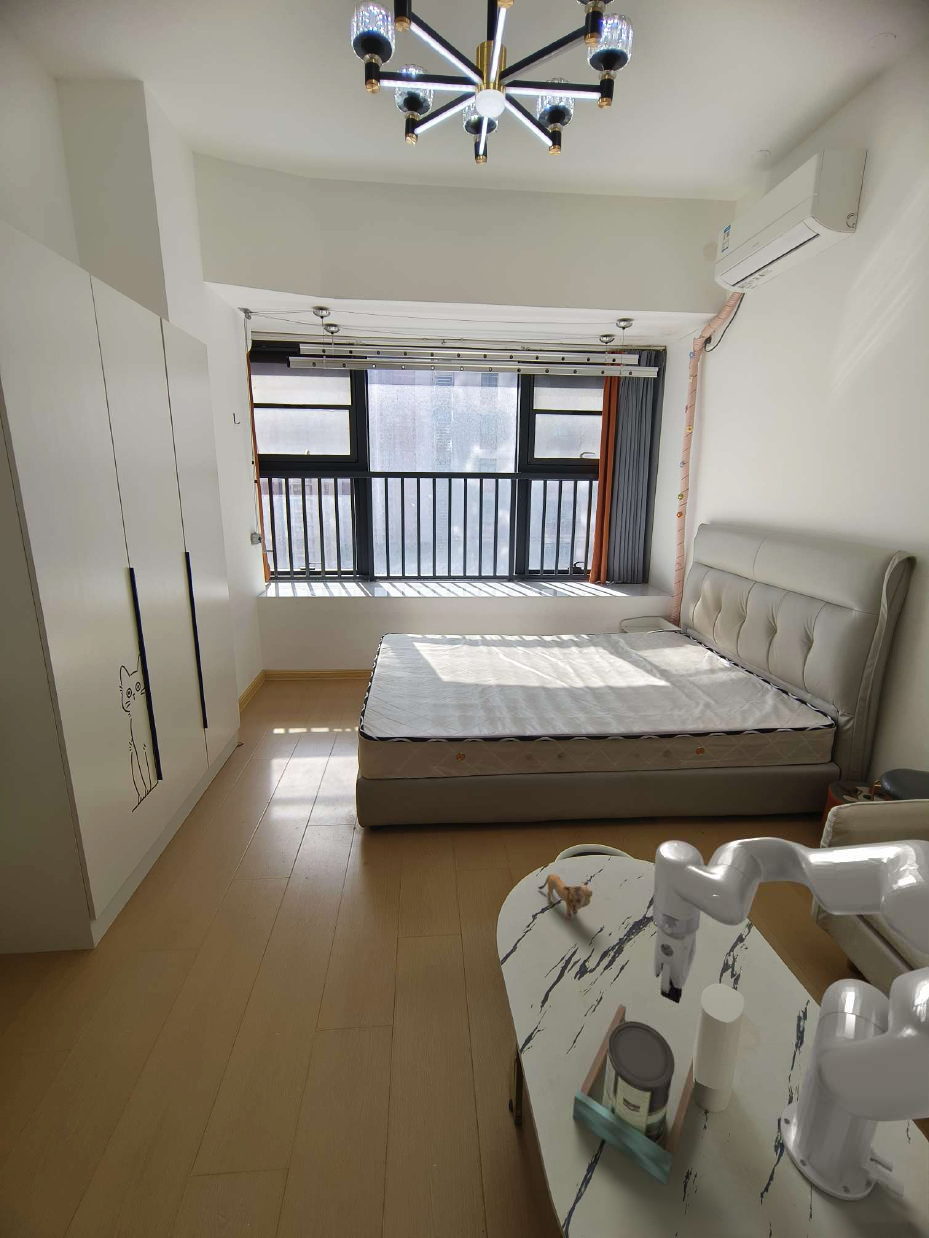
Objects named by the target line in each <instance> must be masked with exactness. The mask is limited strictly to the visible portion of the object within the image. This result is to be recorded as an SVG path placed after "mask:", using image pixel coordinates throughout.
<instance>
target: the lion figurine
mask: <svg viewBox="0 0 929 1238" xmlns="http://www.w3.org/2000/svg"><path fill="white" fill-rule="evenodd" d="M545 887H547V903H548V904H549V905H552V904H553V903H554V902H553V899H552V898H551V895H552V893H553V890H554V891H555V893H556V894H557V896H558V898H559V899H561V900H562V901H563V902H565V905H566V918H567V919H568V920H572V919H573V915H572V912H573V913H577V912H578V910H580V909H582V908H585V907H588V906H589V905H590V903H591V898H592V897H593V891H592V890H590V889H589V888H588V886H587V885H584V884H580V885H577V886H575V885H574V886H569V885H567V884H566V883H565V882H564V881H562V879H561V878H560V876H559V875H558V874H556V873H549V874H548V875H547V877H546V879H545V882H544V884H543V885H541V886H539V887H537V888H538V889H539V890H542V889H544V888H545Z"/></svg>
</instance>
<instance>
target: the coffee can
mask: <svg viewBox="0 0 929 1238" xmlns="http://www.w3.org/2000/svg"><path fill="white" fill-rule="evenodd" d="M674 1057H675V1056H674V1054H673V1050H672V1048H671V1047H670V1045H669V1042H667V1040H666V1039H665V1037H664V1036H663V1035H661V1033H660V1032H659V1031H657V1030H656V1029H655V1028H654V1027H652V1026H650V1025H648V1024H646V1023H643V1022H640V1021H635V1020H631V1021H629V1020H628V1021H623V1023H620V1024H619V1025H617V1026H616V1027H615V1028H614V1029H613V1030H612V1031H611V1033H610V1035H609V1038H608V1055H607V1060H606V1069H605V1078H604V1085H603V1086H604V1087H603V1097H602V1101H601V1102H602V1105H601V1106H603V1107H604V1108H606V1109H607V1110H608V1111H610V1112H611V1113H613V1114H614V1115H616V1116H617V1117H618V1118H620V1119H621V1120H623V1121H624V1122H626V1123H627V1124H628V1125H630V1126H631V1127H633V1128H634V1129H636V1130H637V1131H638V1132H640V1133H641V1134H643V1135H644V1136H646V1137H647V1138H648V1139H650V1140H651V1141H653V1142H654V1143H656V1144H657V1145H659V1143H660V1142H661V1140H662V1139H663V1137H664V1134H665V1131H666V1130H665V1129H666V1121H667V1114H668V1113H667V1112H668V1108H669V1107H668V1105H669V1101H670V1099H669V1098H670V1092H671V1086H672V1080H673V1079H672V1078H673V1075H674V1072H675V1067H676V1066H675V1058H674Z"/></svg>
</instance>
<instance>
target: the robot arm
mask: <svg viewBox="0 0 929 1238" xmlns="http://www.w3.org/2000/svg"><path fill="white" fill-rule="evenodd" d="M654 860H655V861H654V878H653V879H654V882H653V898H652V899H653V901H652V902H653V904H652V919H653V921H654V923H655V924H656V925H657V929H656V935H655V947H654V956H653V958H654V959H653V974H654V977H655V978H656V979H657V978H659V977H660V976H661V980H660V981H661V982H660V995H661V996H662V997H664V998H666V999H667V1000H670V1001H672V1002H674V1003H676V1004H679V1003H680V1001H681V998H682V992H683V987H684V986H685V985H686V981H687V979H688V976H689V974H690V971H691V968H692V965H693V962H694V958H695V955H696V949H697V947H696V943H697V932H698V931H699V928H700V919H701V912H702V913H704V914H705V915H707V916H708V917H710V918H711V919H713V920H714V921H716V922H718V923H721V924H723V925H727V926H731V927H733V926H738V925H741V924H742V923H744V922H745V921H746V919H747V917H748V916H749V913H750V910H751V907H752V904H753V900H754V899H755V897H756V893H757V890H758V887H759V884H760V883H767V882H781V881H782V882H787V881H788V882H795V883H799V884H802V885H804V886H806V887H808V888H809V890H810V892H811V894H812V895H813V898H814V899H815V901H817V904H818V905H820V907H821V908H822V909H823V910H825V912H828V914H832V915H835V916H849V915H877V914H878V915H881V916H882V918H883V921H884V923H885V924H886V926H887V927H888V928H889V929H890V931H891V932H892V933H893V934H894V935H895V936H896V937H897V938H899V939H901V940H902V941H903V942H904V943H906V945H908V946H910V947H911V948H914V949H915V950H916V951H918V952H920V953H921V954H923V955H924V956H926V957H928V958H929V841H927V840H922V839H905V840H895V841H894V840H893V841H883V842H872V843H864V844H856V845H855V844H854V845H845V846H832V847H823V848H821V847H820V848H810V847H808V846H805V845H803V844H801V843H797V842H794V841H790V840H786V839H784V838H780V837H771V836H770V837H769V836H767V837H766V836H764V837H754V838H746V839H745V838H744V839H739V840H733V841H730V842H726V843H724V844H722V845H721V846H719V847H718V848H717V849H716V850H715V852H713V854H712V857H711V858H710V859H709V862H708V864H707V865H705V864H704V858H703V856H702V854H701V852H700V851H699V850H698V849H697V848H696V847H695V846H693V845H692V844H690V843H688V842H686V841H682V840H673V839H672V840H667V841H664V842H662V843H661V844H660V845H659V846H658V847H657V848H656V852H655V858H654ZM889 991H890V992H889V998H888V997H887V996H886V994H884V993H883V992H882V991H881V990H880V989H878V988H877V987H875V986H873V985H872V984H870V983H868V982H866V981H863V980H860V979H855V978H844V979H839V980H837V981H835V982H833V983H832V984H830V985H829V986H828V988H827V989H826V990H825V991H824V994H823V996H822V1000H821V1004H820V1008H819V1014H818V1018H817V1024H816V1028H815V1033H814V1038H813V1040H812V1046H811V1049H810V1054H809V1057H808V1061H807V1065H806V1068H805V1072H804V1077H803V1082H802V1085H801V1088H800V1091H799V1097H798V1100H797V1101H794V1102H791V1103H790V1104H788V1105H787V1106H786V1107H785V1108H784V1110H783V1112H782V1114H781V1118H780V1123H779V1125H780V1135H781V1140H782V1144H783V1145H784V1148H785V1150H786V1151H787V1155H789V1158H790V1159H791V1161H792V1162H793V1163H794V1165H795V1166H796V1168H797V1169H798V1170H799V1171H800V1173H801V1174H802V1175H804V1177H805V1178H806V1179H808V1180H809V1181H810V1182H811V1183H812V1184H813V1185H815V1186H816V1187H817V1188H818V1189H820V1190H821V1191H823V1192H825V1193H826V1194H828V1195H831V1196H832V1197H835V1198H836V1199H840V1200H845V1201H850V1202H851V1201H859V1200H862V1199H865V1198H866V1197H867V1196H868V1195H869V1194H870V1193H871V1191H872V1189H873V1187H874V1185H876V1183H877V1184H879V1185H881V1186H882V1187H884V1188H886V1190H888V1191H889V1192H891V1193H893V1194H895V1195H896V1196H898V1197H899V1198H900V1199H902V1198H903V1197H904V1194H905V1193H904V1191H905V1184H904V1182H903V1181H902V1180H900V1179H899V1178H897V1177H895V1176H894V1175H892V1174H890V1173H888V1172H891V1173H892V1172H893V1167H894V1164H893V1163H894V1162H893V1161H892V1160H890V1159H889V1158H887V1157H886V1156H883V1155H881V1154H879V1153H878V1152H876V1151H875V1149H874V1148H873V1147H872V1146H871V1145H872V1143H873V1140H874V1137H875V1134H876V1130H877V1126H878V1124H879V1122H883V1123H885V1122H886V1123H887V1122H898V1121H910V1120H919V1119H928V1118H929V966H925V967H922V968H919V969H915V970H911V971H908V972H905V973H902V974H900V975H899V976H897V977H896V978H895V979H894V980H893V982H892V984H891V986H890V990H889ZM878 1165H880V1166H881V1168H883V1169H885V1170H886V1171H888V1172H886V1171H883V1169H880V1168H879V1166H878Z"/></svg>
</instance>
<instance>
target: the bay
mask: <svg viewBox="0 0 929 1238" xmlns="http://www.w3.org/2000/svg"><path fill="white" fill-rule="evenodd" d="M626 1010H627V1006H624V1005H623V1004H622V1003H620V1004H619V1005H618V1006H617V1010H616V1012H615V1014H614V1016H613V1018H612V1020H611V1022H610V1025H609V1027H608V1029H607V1032H606V1033H605V1035H604V1038H603V1040H602V1042H601V1044H600V1046H599V1049H598V1051H597V1053H596V1055H595V1057H594V1059H593V1061H592V1063H591V1066H590V1068H589V1070H588V1072H587V1075H586V1076H585V1078H584V1081H583V1084H582V1085H581V1087H580V1089H578V1088H577V1090H576V1091H575V1094H574V1097H573V1098H574V1099H573V1110H572V1117H573V1118H574V1119H576V1120H577V1121H578V1122H580V1123H581V1124H583V1126H586V1127H587V1128H588V1129H589V1130H590V1131H592V1132H593V1133H594V1134H596V1135H598V1137H600V1138H602V1139H603V1140H604V1141H606V1142H607V1143H608V1144H610V1145H611V1147H612V1146H613V1148H615V1149H617V1150H618V1151H619V1152H620V1153H622V1154H624V1156H626V1157H628V1158H629V1159H630V1160H632V1161H633V1162H634V1163H636V1164H637V1165H638V1166H639V1167H641V1168H642V1169H643V1170H645V1171H647V1172H648V1173H649V1174H651V1175H652V1176H653V1177H655V1178H656V1179H657V1180H659V1181H660V1182H662V1184H664V1185H667V1184H668V1181H669V1178H670V1174H671V1170H672V1166H673V1163H674V1159H675V1156H676V1152H677V1150H678V1146H679V1142H680V1138H681V1134H682V1131H683V1128H684V1127H683V1126H684V1124H685V1120H686V1117H687V1113H688V1110H689V1105H690V1103H691V1100H692V1095H693V1093H692V1092H694V1089H693V1085H694V1082H693V1058H692V1059H691V1063H690V1066H689V1070H688V1072H687V1076H686V1079H685V1082H684V1085H683V1089H682V1092H681V1096H680V1099H679V1103H678V1105H677V1106H678V1107H677V1110H676V1114H675V1116H674V1119H673V1122H672V1126H671V1129H670V1132H669V1133H670V1134H669V1137H668V1139H667V1142H666V1146H665V1149H664V1148H663V1147H662V1146H660V1145H659V1144H656V1143H654V1142H653V1141H651V1140H650V1139H648V1138H647V1137H646V1136H644V1135H643V1134H641V1133H640V1132H638V1131H637V1130H636V1129H634V1128H633V1127H631V1126H630V1125H628V1124H627V1123H626V1122H624V1121H623V1120H621V1119H620V1118H618V1117H617V1116H616V1115H614V1114H613V1113H611V1112H610V1111H608V1110H607V1109H606V1108H604V1107H603V1106H602V1105H601V1104H600V1103H598V1102H597V1101H595V1100H594V1099H593V1098H592V1097H591V1096H592V1094H593V1091H594V1089H595V1088H596V1084H598V1083H597V1082H598V1081H599V1078H600V1076H601V1073H602V1071H603V1069H604V1067H605V1064H606V1063H607V1055H608V1038H609V1035H610V1033H611V1031H612V1030H613V1029H614V1028H615V1027H616V1026H617V1025H619V1024H620V1023H623V1022H625V1019H626Z"/></svg>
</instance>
